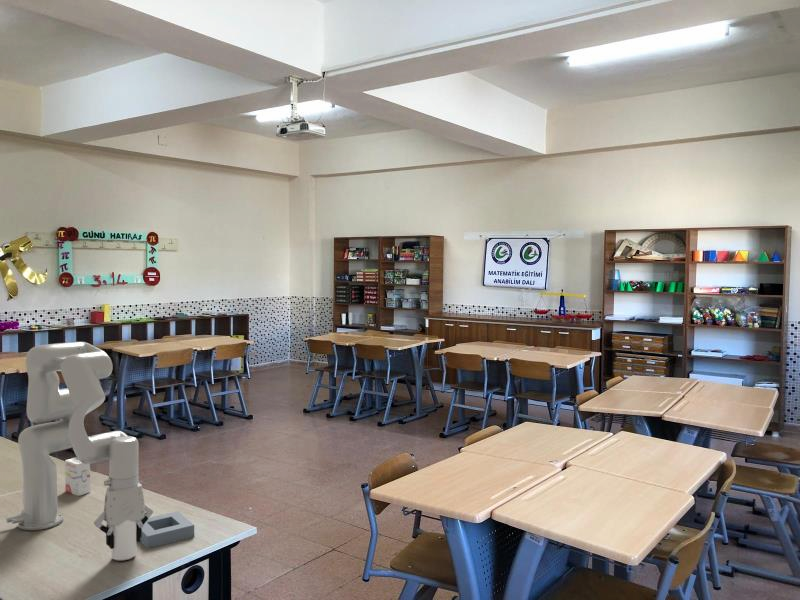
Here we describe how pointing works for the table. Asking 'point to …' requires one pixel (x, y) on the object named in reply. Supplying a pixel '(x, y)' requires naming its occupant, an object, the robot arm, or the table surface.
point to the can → (124, 541)
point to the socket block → (166, 529)
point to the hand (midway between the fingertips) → (124, 543)
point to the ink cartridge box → (77, 477)
